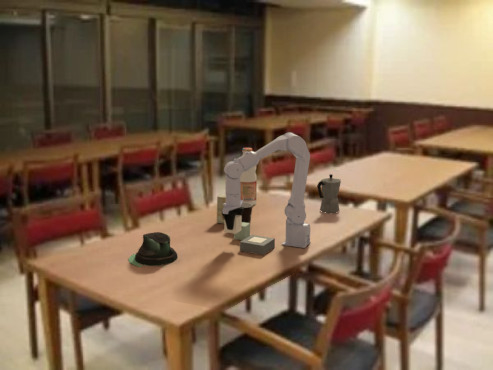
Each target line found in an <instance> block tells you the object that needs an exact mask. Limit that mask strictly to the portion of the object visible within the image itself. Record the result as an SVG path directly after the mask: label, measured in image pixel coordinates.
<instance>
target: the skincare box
mask: <svg viewBox="0 0 493 370" xmlns="http://www.w3.org/2000/svg"><path fill="white" fill-rule="evenodd" d="M224 203H226V194H218V195H217V199H216V223H217V224H224V217H223V215H222V211H223V208H224V206H223V204H224Z"/></svg>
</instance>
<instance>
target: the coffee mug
mask: <svg viewBox="0 0 493 370" xmlns="http://www.w3.org/2000/svg"><path fill="white" fill-rule="evenodd" d="M253 206H254V205H252V204H250V203H243V205H242V206H241V207H244V211H243V213H242V222H245V223H250V224H251V221H252V213H253Z"/></svg>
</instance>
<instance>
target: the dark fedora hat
mask: <svg viewBox="0 0 493 370" xmlns="http://www.w3.org/2000/svg"><path fill="white" fill-rule="evenodd" d="M177 259H178V253H177V251H176V250H175V249H174V248H173V247H171V237H170V235H168V234H167V233H164V232H160V231H157V232H149V233H145V234H143V235H142V244H141V246H140V247H139V248H138V249H137V252H135V253H134V254H131V256H129V257H128V262H129V263H130V264H131V265H133V266H136V267H138V268H141V267H142V268H143V267H144V266H147V267H157V266H158V267H159V266H164V265H165V266H164V268H166V266H167V265H169V264H172V263H174V262H176V261H177Z"/></svg>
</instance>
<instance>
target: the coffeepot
mask: <svg viewBox="0 0 493 370" xmlns="http://www.w3.org/2000/svg"><path fill="white" fill-rule="evenodd" d="M341 182H342V181H341V179H339V178H334V176H333V174H331V173H330V174H329V178H323V179H321V180H320V181H318V183H317V187H316V188H317V191H318V195H319V198H320V199H321V203H320V208H319V210H321V211H322V212H321V211H320V212H321V213H323V212H326V213H325V214H330V213H332V214H337V213H336V212H338V211H339V212H340V206H339V204H340V203H339V198H338V195H339V191H340V187H341V184H342V183H341ZM339 212H338V213H339Z"/></svg>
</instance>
